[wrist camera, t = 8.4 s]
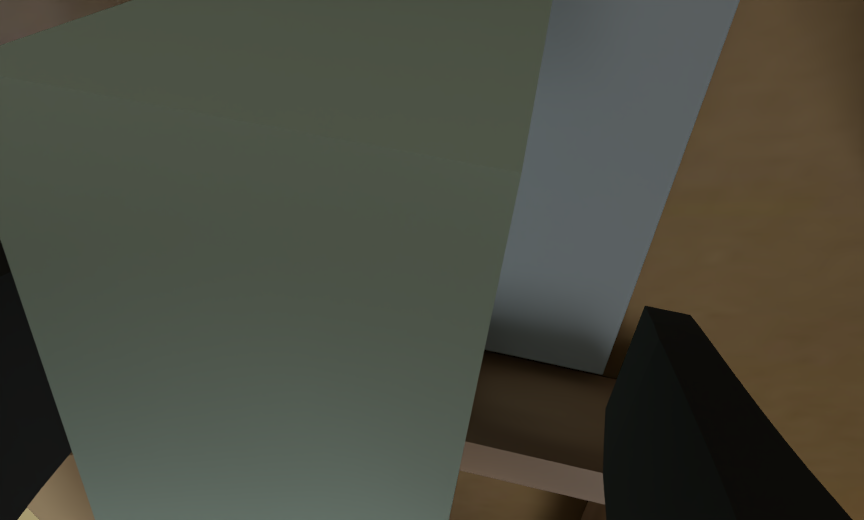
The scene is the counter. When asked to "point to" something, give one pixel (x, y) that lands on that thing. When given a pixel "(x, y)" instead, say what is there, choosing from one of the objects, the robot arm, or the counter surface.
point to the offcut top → (63, 496)
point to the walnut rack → (539, 428)
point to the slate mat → (599, 169)
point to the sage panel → (266, 244)
